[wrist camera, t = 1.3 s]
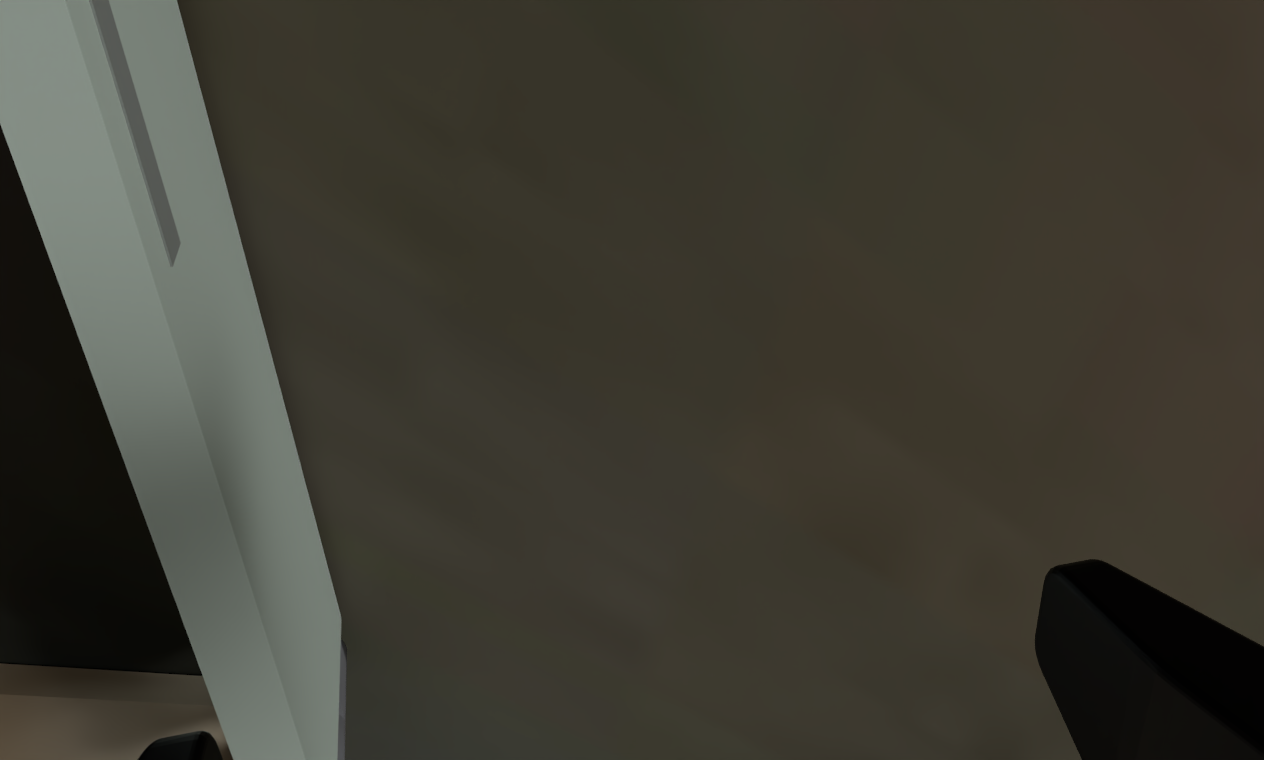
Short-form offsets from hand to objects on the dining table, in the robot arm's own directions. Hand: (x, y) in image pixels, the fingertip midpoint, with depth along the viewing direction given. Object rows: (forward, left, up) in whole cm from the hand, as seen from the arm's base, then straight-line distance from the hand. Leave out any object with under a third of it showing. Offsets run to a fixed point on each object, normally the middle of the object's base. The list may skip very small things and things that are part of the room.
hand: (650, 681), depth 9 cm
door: (+4, +4, -12) cm, 13 cm away
